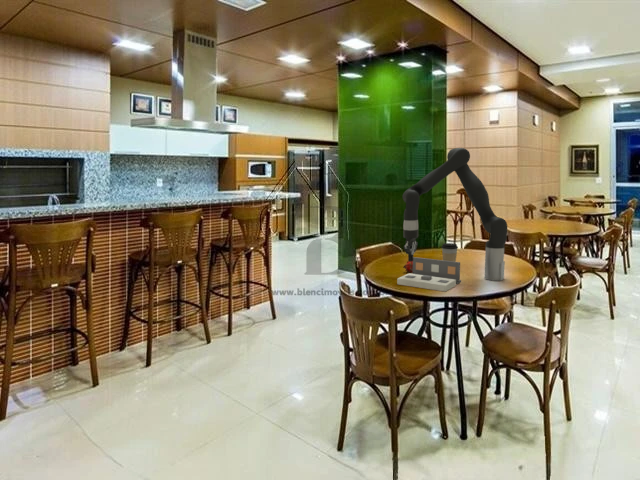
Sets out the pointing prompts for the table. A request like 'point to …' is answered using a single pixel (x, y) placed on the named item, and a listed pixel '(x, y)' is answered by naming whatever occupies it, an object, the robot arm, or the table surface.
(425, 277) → the button middle
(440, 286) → the button board
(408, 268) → the dragon fruit
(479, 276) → the table surface
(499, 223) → the robot arm
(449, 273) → the pattern sign
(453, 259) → the coffee cup
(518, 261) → the table surface
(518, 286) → the table surface
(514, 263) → the table surface
